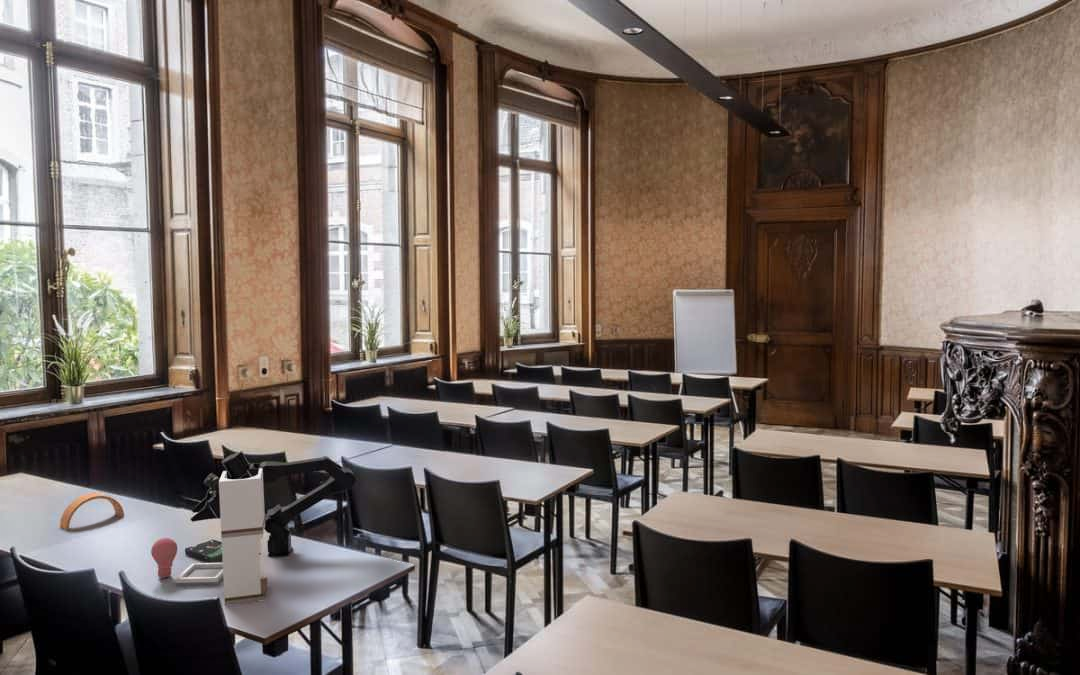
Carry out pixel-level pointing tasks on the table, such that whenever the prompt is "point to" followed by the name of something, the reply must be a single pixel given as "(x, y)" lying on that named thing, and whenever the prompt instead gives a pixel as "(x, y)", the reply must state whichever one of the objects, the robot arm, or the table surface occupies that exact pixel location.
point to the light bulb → (164, 555)
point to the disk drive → (206, 551)
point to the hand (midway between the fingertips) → (191, 515)
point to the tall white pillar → (242, 537)
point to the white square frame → (201, 575)
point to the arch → (80, 501)
